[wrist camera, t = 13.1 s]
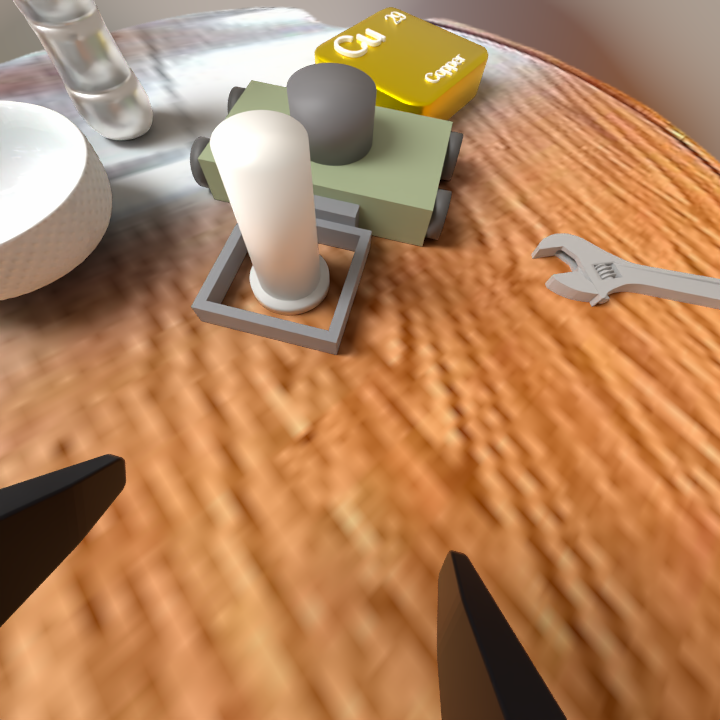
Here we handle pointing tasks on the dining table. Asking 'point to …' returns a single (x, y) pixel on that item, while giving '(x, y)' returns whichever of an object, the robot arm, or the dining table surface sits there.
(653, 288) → the adjustable wrench
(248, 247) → the white cylindrical piece
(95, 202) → the cereal bowl
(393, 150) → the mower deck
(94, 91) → the plastic bottle
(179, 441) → the dining table surface
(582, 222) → the dining table surface
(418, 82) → the element tile
